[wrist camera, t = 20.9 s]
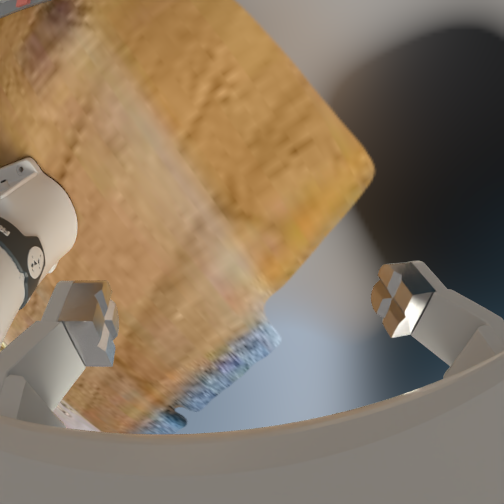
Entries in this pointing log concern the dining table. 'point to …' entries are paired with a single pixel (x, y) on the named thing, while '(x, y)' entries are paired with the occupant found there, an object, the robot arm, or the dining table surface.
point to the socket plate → (16, 5)
